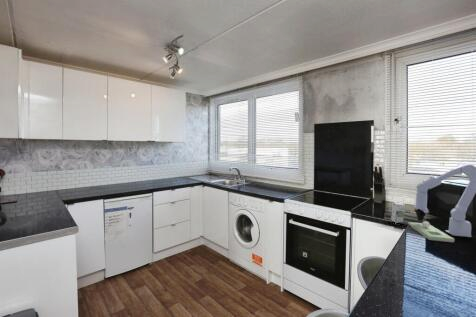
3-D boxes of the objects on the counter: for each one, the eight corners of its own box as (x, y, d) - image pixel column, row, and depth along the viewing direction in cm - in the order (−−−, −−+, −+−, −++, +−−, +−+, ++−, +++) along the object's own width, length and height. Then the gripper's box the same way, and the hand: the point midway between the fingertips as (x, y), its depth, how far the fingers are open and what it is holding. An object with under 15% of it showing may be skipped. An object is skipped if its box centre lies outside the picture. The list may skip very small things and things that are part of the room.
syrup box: (398, 222, 163) (399, 202, 162) (404, 224, 157) (405, 204, 156) (390, 221, 163) (391, 201, 162) (395, 224, 157) (396, 203, 157)
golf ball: (427, 226, 148) (428, 220, 147) (431, 228, 144) (431, 222, 144) (420, 226, 149) (420, 220, 148) (423, 228, 145) (424, 222, 145)
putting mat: (428, 226, 153) (428, 223, 153) (454, 242, 128) (454, 238, 128) (408, 224, 157) (408, 222, 156) (429, 239, 131) (429, 236, 131)
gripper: (409, 197, 160) (408, 216, 161) (420, 202, 146) (418, 223, 147) (421, 198, 158) (419, 217, 159) (433, 203, 144) (431, 224, 145)
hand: (420, 220), depth 153 cm, fingers closed
